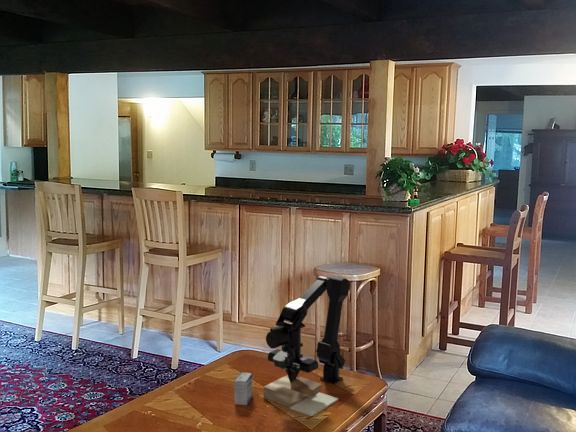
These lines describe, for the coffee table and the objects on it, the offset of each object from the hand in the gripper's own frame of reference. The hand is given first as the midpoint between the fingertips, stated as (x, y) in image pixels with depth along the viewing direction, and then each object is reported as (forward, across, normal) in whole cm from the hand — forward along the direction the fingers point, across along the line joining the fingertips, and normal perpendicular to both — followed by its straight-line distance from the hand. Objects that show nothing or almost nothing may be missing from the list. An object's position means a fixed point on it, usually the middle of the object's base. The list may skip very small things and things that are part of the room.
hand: (292, 383), depth 213 cm
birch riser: (+5, -2, 0) cm, 5 cm away
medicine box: (+5, -11, -13) cm, 18 cm away
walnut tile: (+1, +6, +1) cm, 6 cm away
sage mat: (+5, +10, 0) cm, 11 cm away
